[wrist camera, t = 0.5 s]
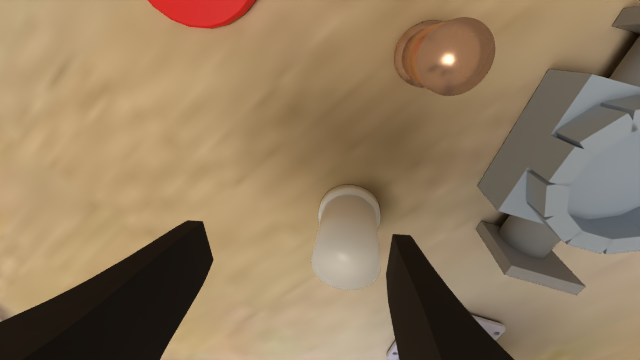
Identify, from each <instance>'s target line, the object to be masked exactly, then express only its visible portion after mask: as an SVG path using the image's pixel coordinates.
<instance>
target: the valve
mask: <svg viewBox="0 0 640 360" xmlns="http://www.w3.org/2000/svg"><path fill="white" fill-rule="evenodd" d="M612 26H614V27H617V28H621V29H625V30H628V31H632V32H636V33H639V34H640V6H637V7H631V8H624V9H623V10H622V12H621V13H620V15H619V16H618V18H617V19H616V21H615V22H614V24H613V25H612ZM477 187H478V188H479V189H480V190H481V191H482V193H483V194H484V195H485V196H486V197H487V199H488V200H489V201H490V202H491V203H492V205H493V206H494V207H495V208H496V209H497V211H500V212H503V213H507V214H510V216H509V217H508V218H507V220H506V221H505V222H504V224H503V225H502V227H500V226H496V225H493V224H489V223H486V222H482V221H481V222H480V224H479V225H478V227H477V228H476V230H477V232H478V233H479V235H480V237H481V238H482V240H483V241H484V243H485V244H486V246H487V248H488V249H489V251H490V252H491V254H492V256H493V257H494V259H495V260H496V262H497V264H498V265H499V267H500V268H501V270H502V271H503V273H504V275H508V276H511V277H515V278H518V279H521V280H525V281H528V282H532V283H535V284H539V285H542V286H546V287H549V288H553V289H556V290H560V291H563V292H567V293H570V294H574V295H577V294H579V293H580V292H581V291H582V290H583V289H584V288H585V287H586V286H585V285H584V284H583V283H582V282H581V281H580V280H579V279H578V278H577V277H576V276H575V275H574V274H573V273H572V271H571V270H570V269H569V268H568V267H567V266H566V265H565V264H564V263H563V262H562V261H561V260H560V259H559V258H558V257H557V255H556V254H555V253H554V252H553V251H552V249H553V248H554V247H555V245H556V244H557V243H558V242H559V241H560V240H562V241H563V242H565V243H566V244H567V245H571V246H574V247H578V248H581V249H585V250H588V251H592V252H595V253H599V254H601V253H602V252H604V253H605V254H615V253H625V252H635V251H640V36H639V37H638V39H637V40H636V41H635V43H634V44H633V46H632V47H631V48H630V50H629V51H628V53H627V54H626V55H625V57H624V58H623V59H622V61H621V62H620V64H619V65H618V66H617V68H616V69H615V70H614V72H613V73H612V75H611V76H610V77H609V79H608V78H604V77H601V76H597V75H593V74H587V73H578V72H570V71H561V70H553V69H549V70H548V72H547V73H546V75H545V76H544V78H543V80H542V81H541V83H540V85H539V86H538V88H537V90H536V91H535V93H534V94H533V96H532V98H531V99H530V101H529V103H528V104H527V106H526V108H525V109H524V111H523V112H522V114H521V116H520V117H519V119H518V121H517V122H516V124H515V125H514V127H513V129H512V130H511V132H510V134H509V135H508V137H507V139H506V140H505V142H504V143H503V145H502V147H501V148H500V150H499V152H498V153H497V155H496V157H495V158H494V160H493V161H492V163H491V165H490V166H489V168H488V170H487V171H486V173H485V175H484V176H483V178H482V179H481V181H480V183H479V184H478V186H477Z"/></svg>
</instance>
